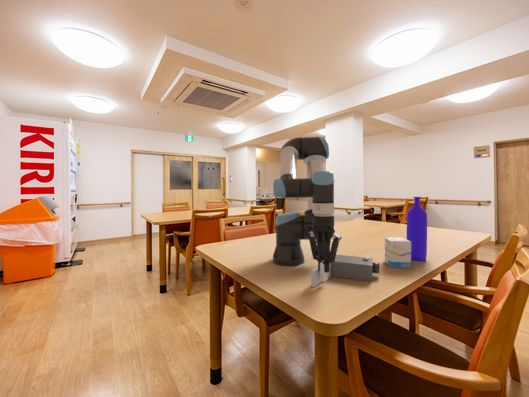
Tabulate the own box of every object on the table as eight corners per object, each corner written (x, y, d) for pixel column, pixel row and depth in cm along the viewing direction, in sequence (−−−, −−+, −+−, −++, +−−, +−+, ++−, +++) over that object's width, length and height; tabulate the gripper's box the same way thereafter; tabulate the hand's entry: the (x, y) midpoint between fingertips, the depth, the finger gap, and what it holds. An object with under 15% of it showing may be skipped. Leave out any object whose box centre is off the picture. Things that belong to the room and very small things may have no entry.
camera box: (328, 275, 94) (328, 258, 94) (332, 267, 104) (332, 252, 103) (379, 282, 87) (379, 264, 86) (379, 273, 96) (379, 256, 95)
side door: (327, 275, 95) (327, 261, 94) (331, 276, 93) (331, 261, 93) (309, 286, 84) (309, 270, 84) (313, 287, 83) (313, 271, 83)
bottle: (427, 262, 108) (428, 197, 107) (406, 259, 113) (406, 197, 111) (426, 257, 115) (427, 196, 114) (406, 255, 120) (407, 196, 118)
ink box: (411, 268, 101) (412, 241, 101) (390, 267, 103) (390, 240, 102) (404, 262, 110) (404, 237, 109) (384, 261, 111) (384, 236, 111)
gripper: (301, 214, 86) (302, 278, 87) (334, 217, 77) (335, 288, 78) (313, 212, 91) (314, 273, 92) (345, 215, 82) (345, 282, 83)
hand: (323, 280), depth 85 cm, fingers closed
